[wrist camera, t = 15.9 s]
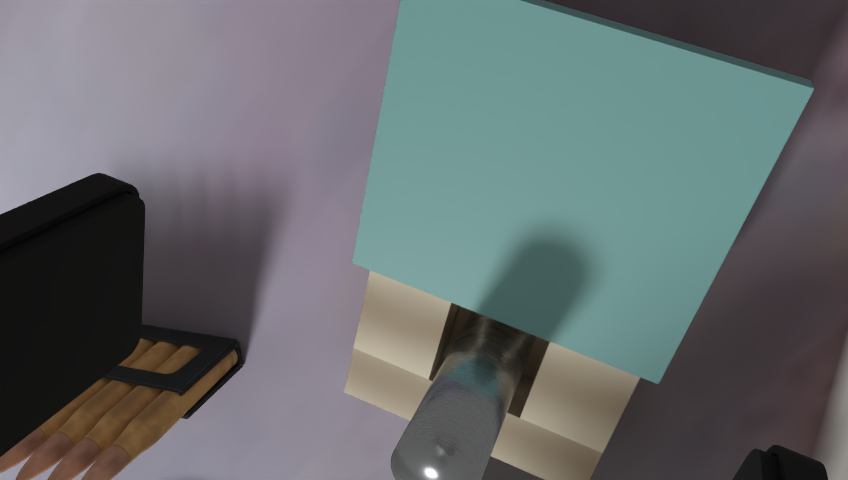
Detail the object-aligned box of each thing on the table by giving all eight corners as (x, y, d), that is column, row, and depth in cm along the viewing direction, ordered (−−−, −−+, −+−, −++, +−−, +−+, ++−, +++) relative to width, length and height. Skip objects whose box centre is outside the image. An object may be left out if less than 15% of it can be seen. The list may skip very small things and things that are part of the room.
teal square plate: (660, 368, 28) (658, 384, 27) (362, 252, 30) (351, 263, 29) (810, 79, 21) (814, 88, 20) (417, -38, 24) (406, -34, 23)
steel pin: (525, 364, 34) (465, 523, 25) (463, 338, 34) (383, 485, 26) (545, 311, 32) (487, 462, 23) (479, 285, 33) (400, 423, 24)
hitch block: (593, 437, 35) (581, 495, 32) (376, 347, 38) (343, 392, 34) (755, 99, 26) (762, 130, 23) (456, 7, 29) (423, 22, 25)
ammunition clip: (239, 339, 41) (85, 486, 31) (244, 366, 42) (96, 517, 32) (94, 316, 44) (-86, 441, 34) (102, 341, 45) (-72, 471, 35)
